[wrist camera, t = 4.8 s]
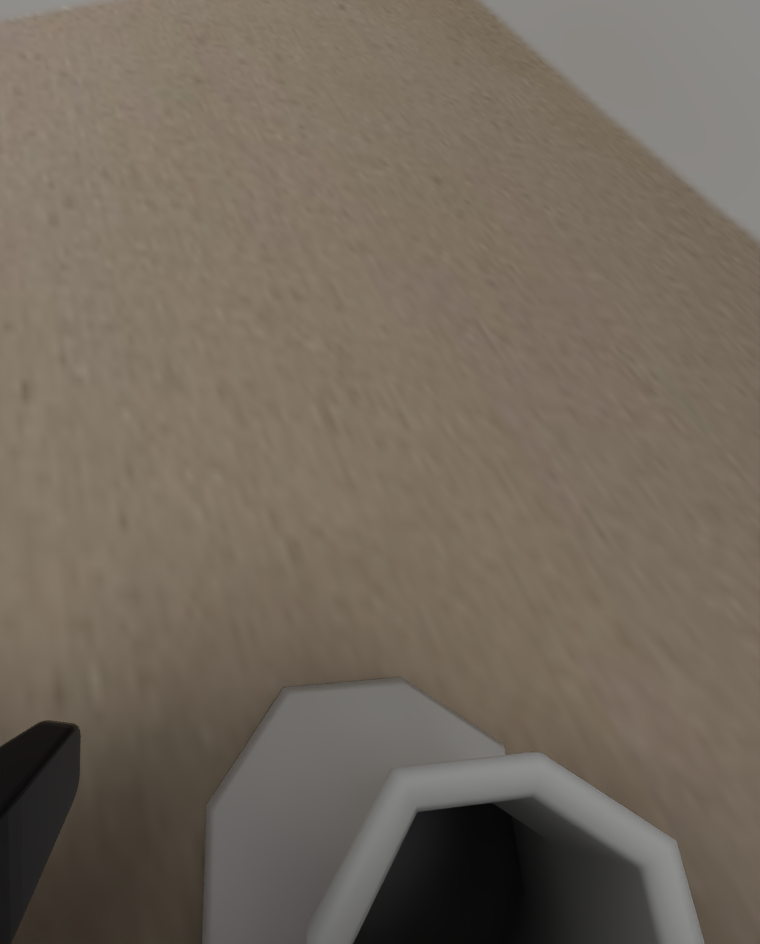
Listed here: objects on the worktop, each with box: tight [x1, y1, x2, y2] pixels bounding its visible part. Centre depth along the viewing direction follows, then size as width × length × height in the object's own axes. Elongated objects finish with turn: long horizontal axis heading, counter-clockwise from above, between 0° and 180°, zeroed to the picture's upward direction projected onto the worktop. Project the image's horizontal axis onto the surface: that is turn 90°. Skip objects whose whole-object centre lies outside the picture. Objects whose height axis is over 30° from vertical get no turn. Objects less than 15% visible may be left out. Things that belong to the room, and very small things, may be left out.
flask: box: [202, 677, 705, 944], centre depth 9 cm, size 7×7×10 cm
